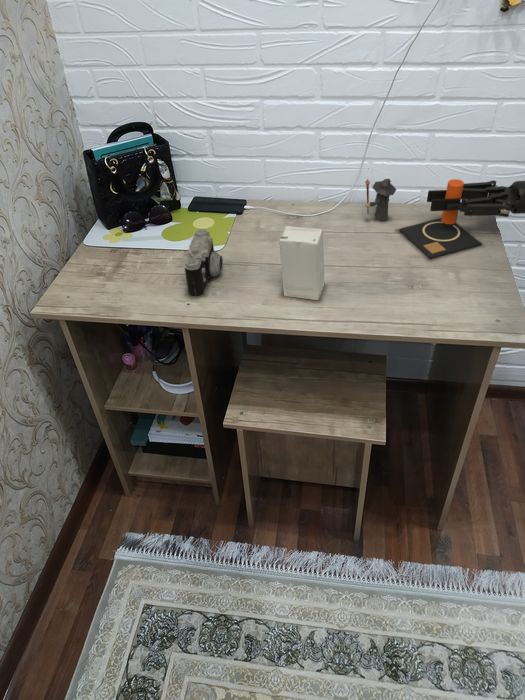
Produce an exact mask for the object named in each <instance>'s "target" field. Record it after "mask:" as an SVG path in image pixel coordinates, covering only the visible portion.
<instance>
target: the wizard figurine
mask: <svg viewBox="0 0 525 700" xmlns="http://www.w3.org/2000/svg"><path fill="white" fill-rule="evenodd" d="M391 182H392V180H391V179H390V178H384V179H383V180H380V181H379V180H377V181H375V182H374V183H373V185H372V189H373V190H374V191H375V193H376V195H375V199H374V201H370V202H369V200H370V197H369V196H370V184H371V183H370V180H369V179H366V180H365V182H364V183H365V186H366V188H365V189H366V204H365V208H366V209H367V211H366V212H367V213H369V208H372V207H375V206H376V208H375V211H374V215H373V216H374V219H375V220H377V221H387V220H388V218H389V202H390V196H393V195H394V194H395V192H396V191H397V188H396V187H395V186H394V185H393V183H391Z"/></svg>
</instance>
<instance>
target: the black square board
mask: <svg viewBox="0 0 525 700" xmlns="http://www.w3.org/2000/svg"><path fill="white" fill-rule="evenodd" d="M441 218H442V217H440V218H437V219H433V220H429V221H424V222H421V223H416V224H413V225H409V226H405V227H402V228H399V229H398V231H399V232H400V233H401V234H402V235H403V236H404V237H405V238H406V239H407V240H408V241H410V242H411V244H413V245H414V246H415V247H416V248H417V249H418V250H419V251H421V252H422V253H423V254H424V255H425V256H426V257H427V258H428V259H430V260H432V259H436V258H440V257H443V256H447V255H451V254H454V253H458V252H462V251H465V250H469V249H472V248H476V247H480V246H481V245H482V242H480V241H479V240H478V239H477V238H476V237H474V236H473V235H472V234H470V232H468V231H467V230H466V229H464V228H463V227H462V226H460V225H459V224H458V223H457V222H456V223H454V225H453V226H452V227H446V226H444V225H443V222H442V221H441Z"/></svg>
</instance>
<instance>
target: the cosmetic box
mask: <svg viewBox="0 0 525 700" xmlns="http://www.w3.org/2000/svg"><path fill="white" fill-rule="evenodd" d="M278 242H279V254H280V266H281V277H282V278H281V279H282V288H283V296H284V297H292V298H298V299H304V300H305V299H307V300H313V301H319V300H320V297H321V296H322V295H321V294H322V292H323V289H324V287H325V255H324V254H325V253H324V251H325V250H324V229H323V228H315V227H313V228H312V227H301V226H290V225H286V227H285V228H284V231H283V232H282V235H281V237H280V238H279V240H278Z"/></svg>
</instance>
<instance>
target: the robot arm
mask: <svg viewBox="0 0 525 700" xmlns="http://www.w3.org/2000/svg"><path fill="white" fill-rule="evenodd" d="M446 190H447V189H433V190H431V189H430V190H429V189H428V191H427V198H426V203H430V210H429V211H430V212H443V211H451V210H452V211H453V210H459V212H461V213H464V214H463V215H464V216H467V217H483V216H484V217H486V216H487V217H490V216H491V217H492V216H496V217H505V218H508V217H509V216H510V213H511V214H514V215H517V214H519V215H520V214H525V180H515V181H514V182H512V183H511V185H509V186H503V185H500V186H498V185H497V180H490V181H483V182H482V181H481V182H467V183H464V186H463V191H462V196H461V199H460V198H452V199H445V196H446Z"/></svg>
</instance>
